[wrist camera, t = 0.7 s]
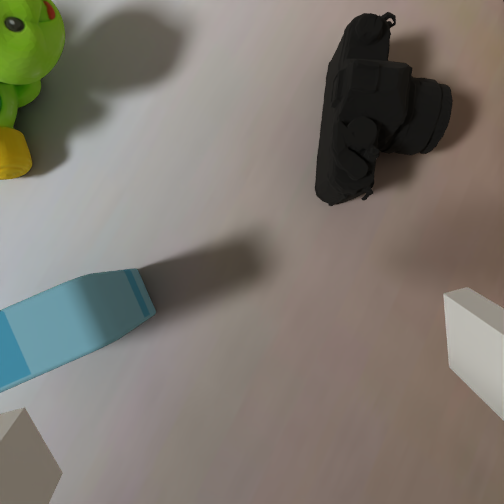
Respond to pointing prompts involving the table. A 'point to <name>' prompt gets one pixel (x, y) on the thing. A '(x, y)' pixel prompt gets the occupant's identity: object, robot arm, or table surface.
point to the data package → (69, 323)
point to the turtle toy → (24, 70)
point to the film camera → (373, 111)
